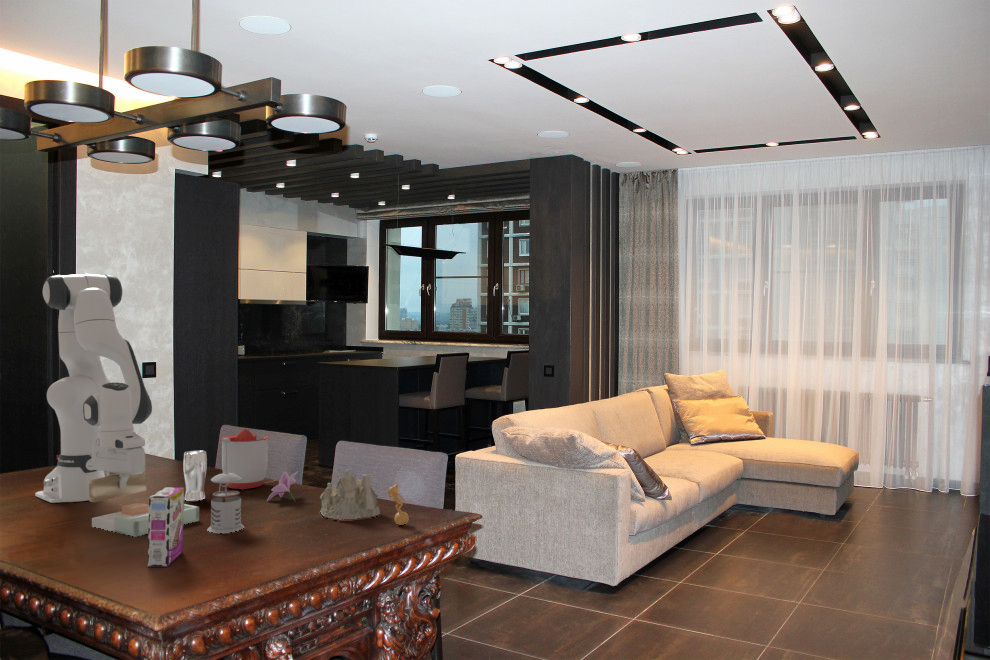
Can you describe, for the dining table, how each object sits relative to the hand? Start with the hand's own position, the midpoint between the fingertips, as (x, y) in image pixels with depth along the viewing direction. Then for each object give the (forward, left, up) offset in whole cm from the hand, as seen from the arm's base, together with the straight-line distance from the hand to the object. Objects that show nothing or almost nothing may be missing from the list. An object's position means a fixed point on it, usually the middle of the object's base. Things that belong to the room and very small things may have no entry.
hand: (118, 487), depth 222 cm
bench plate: (+8, 0, -9) cm, 12 cm away
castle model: (+53, +39, -9) cm, 66 cm away
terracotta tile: (+8, 0, -6) cm, 10 cm away
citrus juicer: (-3, +50, -9) cm, 51 cm away
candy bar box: (+45, -18, -9) cm, 49 cm away
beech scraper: (0, 0, -2) cm, 2 cm away
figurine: (+73, +36, -9) cm, 82 cm away
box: (+18, 0, -9) cm, 20 cm away
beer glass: (-1, +27, -9) cm, 29 cm away
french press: (+34, +9, -9) cm, 36 cm away
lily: (+23, +42, -9) cm, 49 cm away
